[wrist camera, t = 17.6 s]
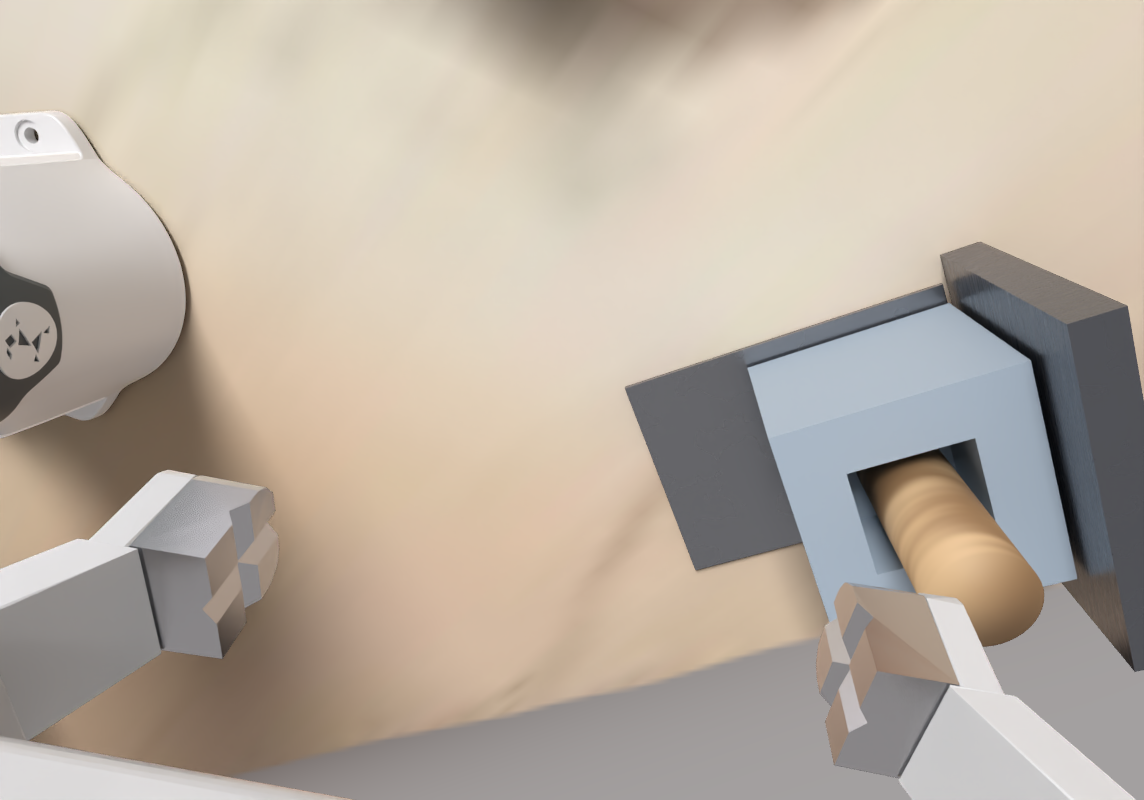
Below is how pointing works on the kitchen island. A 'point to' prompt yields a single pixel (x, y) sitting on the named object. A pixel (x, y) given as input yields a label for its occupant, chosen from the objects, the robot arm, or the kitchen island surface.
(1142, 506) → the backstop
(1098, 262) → the kitchen island surface
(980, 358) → the socket block
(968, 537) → the dowel
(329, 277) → the kitchen island surface
